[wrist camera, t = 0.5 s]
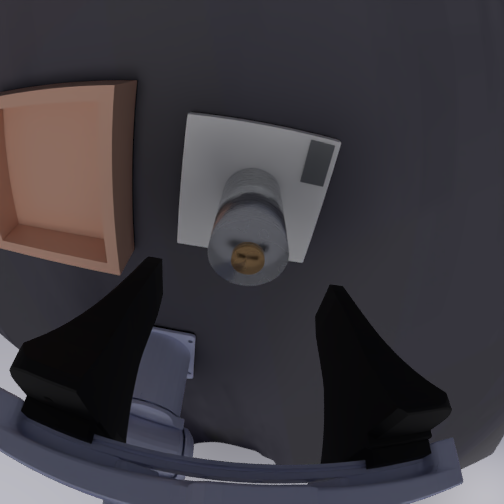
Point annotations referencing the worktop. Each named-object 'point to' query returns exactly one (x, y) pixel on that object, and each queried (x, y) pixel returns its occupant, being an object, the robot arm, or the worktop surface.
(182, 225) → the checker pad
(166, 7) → the worktop surface
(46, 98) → the bin
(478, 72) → the worktop surface
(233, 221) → the cell
